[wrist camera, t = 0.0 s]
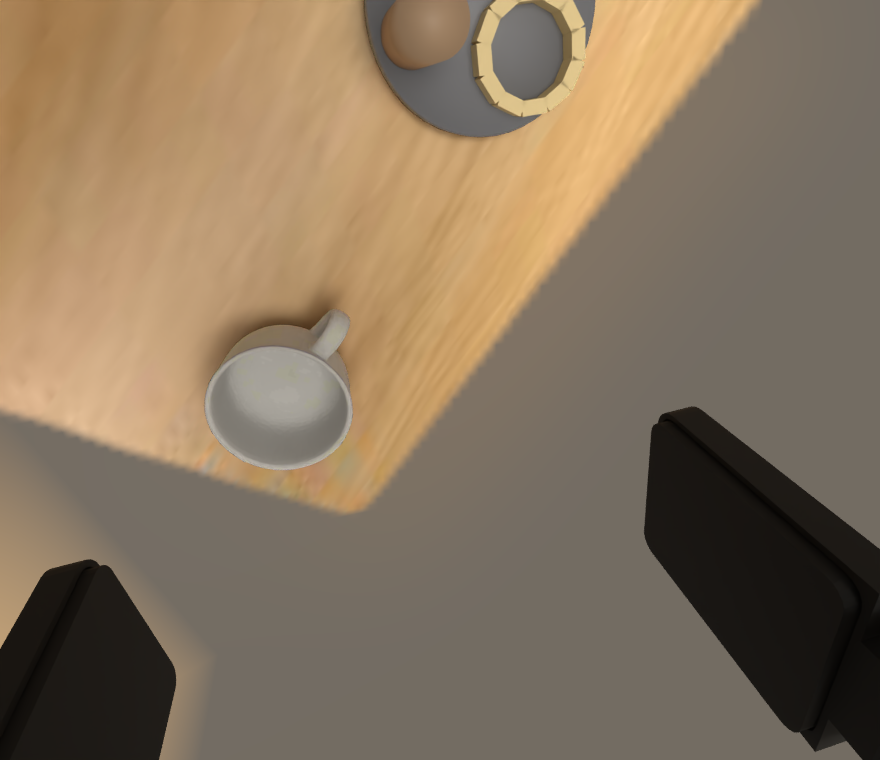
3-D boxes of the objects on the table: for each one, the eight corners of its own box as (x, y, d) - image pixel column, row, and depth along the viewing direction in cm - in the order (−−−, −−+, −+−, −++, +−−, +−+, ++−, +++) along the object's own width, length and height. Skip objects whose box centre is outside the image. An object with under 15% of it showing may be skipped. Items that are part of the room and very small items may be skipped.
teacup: (290, 440, 50) (287, 494, 43) (192, 370, 45) (170, 419, 38) (396, 342, 48) (411, 383, 41) (305, 257, 42) (304, 286, 36)
